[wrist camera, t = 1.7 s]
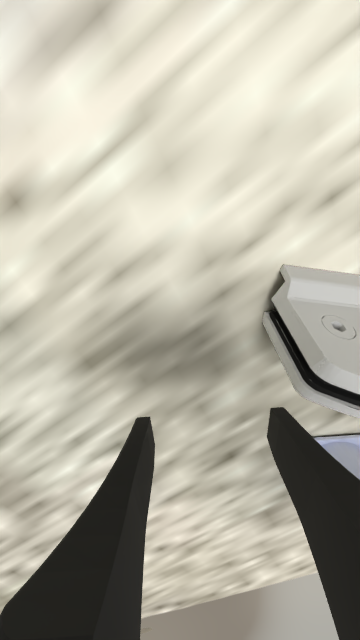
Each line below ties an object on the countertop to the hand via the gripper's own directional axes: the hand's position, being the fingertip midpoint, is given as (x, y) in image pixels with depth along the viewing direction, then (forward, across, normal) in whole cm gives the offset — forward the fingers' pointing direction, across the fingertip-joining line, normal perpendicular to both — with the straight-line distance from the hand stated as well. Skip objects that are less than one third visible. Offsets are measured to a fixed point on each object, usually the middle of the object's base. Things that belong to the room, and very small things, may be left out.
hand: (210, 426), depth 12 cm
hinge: (+10, -14, 0) cm, 17 cm away
